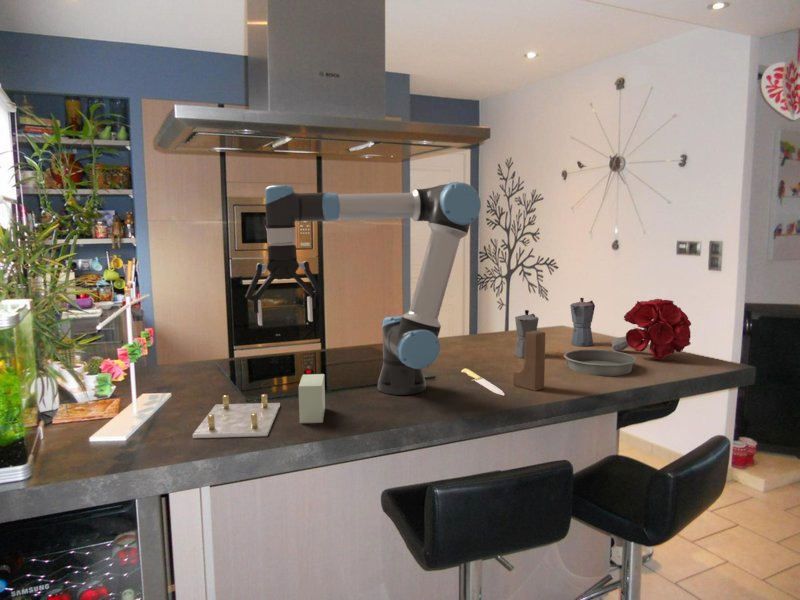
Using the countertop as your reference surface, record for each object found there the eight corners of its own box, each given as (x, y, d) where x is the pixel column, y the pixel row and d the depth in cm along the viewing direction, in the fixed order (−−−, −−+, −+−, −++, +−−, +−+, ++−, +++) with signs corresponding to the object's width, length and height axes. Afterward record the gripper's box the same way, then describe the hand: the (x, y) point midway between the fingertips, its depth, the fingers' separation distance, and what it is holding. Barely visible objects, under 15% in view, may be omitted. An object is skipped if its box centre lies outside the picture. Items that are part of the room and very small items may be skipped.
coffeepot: (531, 360, 224) (533, 313, 222) (508, 357, 229) (509, 311, 227) (544, 352, 237) (546, 307, 235) (522, 350, 242) (523, 306, 240)
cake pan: (594, 357, 230) (595, 346, 229) (651, 371, 209) (652, 358, 208) (548, 366, 217) (549, 354, 216) (604, 381, 196) (605, 368, 195)
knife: (494, 396, 179) (508, 392, 180) (455, 369, 210) (467, 366, 211) (495, 400, 179) (509, 396, 180) (455, 373, 210) (467, 370, 211)
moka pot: (562, 345, 251) (563, 298, 249) (581, 340, 262) (583, 294, 259) (582, 348, 244) (584, 300, 242) (601, 343, 255) (603, 296, 252)
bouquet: (612, 375, 228) (685, 347, 207) (588, 318, 235) (656, 285, 214) (639, 370, 242) (710, 343, 222) (616, 316, 249) (682, 285, 229)
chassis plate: (279, 406, 171) (279, 390, 170) (267, 436, 147) (266, 418, 146) (215, 407, 170) (215, 392, 169) (192, 438, 146) (191, 420, 145)
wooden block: (512, 385, 191) (513, 329, 188) (521, 382, 194) (522, 328, 191) (535, 391, 184) (536, 334, 182) (544, 388, 187) (546, 332, 184)
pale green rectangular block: (325, 408, 169) (324, 374, 167) (322, 422, 157) (321, 385, 155) (303, 409, 168) (302, 374, 167) (299, 423, 156) (298, 386, 155)
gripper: (324, 242, 167) (327, 317, 170) (232, 245, 158) (236, 324, 161) (330, 243, 160) (333, 321, 163) (234, 246, 151) (239, 329, 154)
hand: (285, 322), depth 162 cm, fingers open, 13 cm apart
